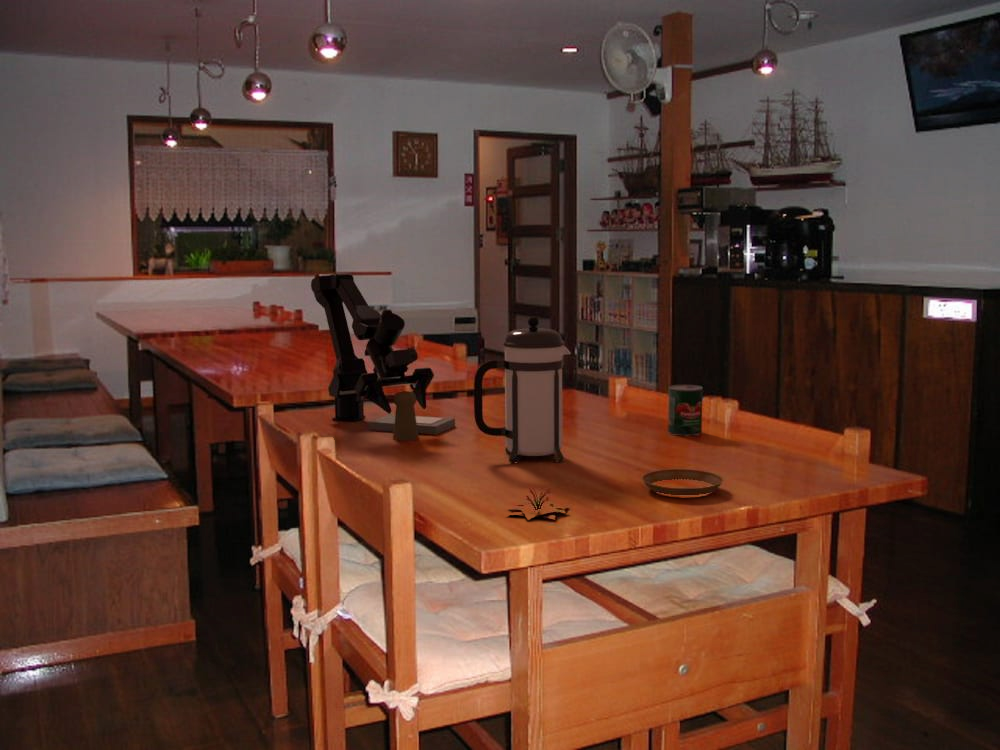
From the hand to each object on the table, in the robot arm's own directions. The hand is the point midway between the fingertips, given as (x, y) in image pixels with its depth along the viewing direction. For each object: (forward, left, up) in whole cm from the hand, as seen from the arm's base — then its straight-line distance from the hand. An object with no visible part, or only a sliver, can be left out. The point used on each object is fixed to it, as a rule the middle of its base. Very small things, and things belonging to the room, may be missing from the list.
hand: (407, 410), depth 233 cm
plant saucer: (+69, -25, -7) cm, 74 cm away
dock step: (-5, +12, -7) cm, 15 cm away
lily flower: (+49, -48, -7) cm, 69 cm away
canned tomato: (+59, +28, -7) cm, 66 cm away
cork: (-1, +1, -7) cm, 7 cm away
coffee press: (+33, -9, -7) cm, 35 cm away
